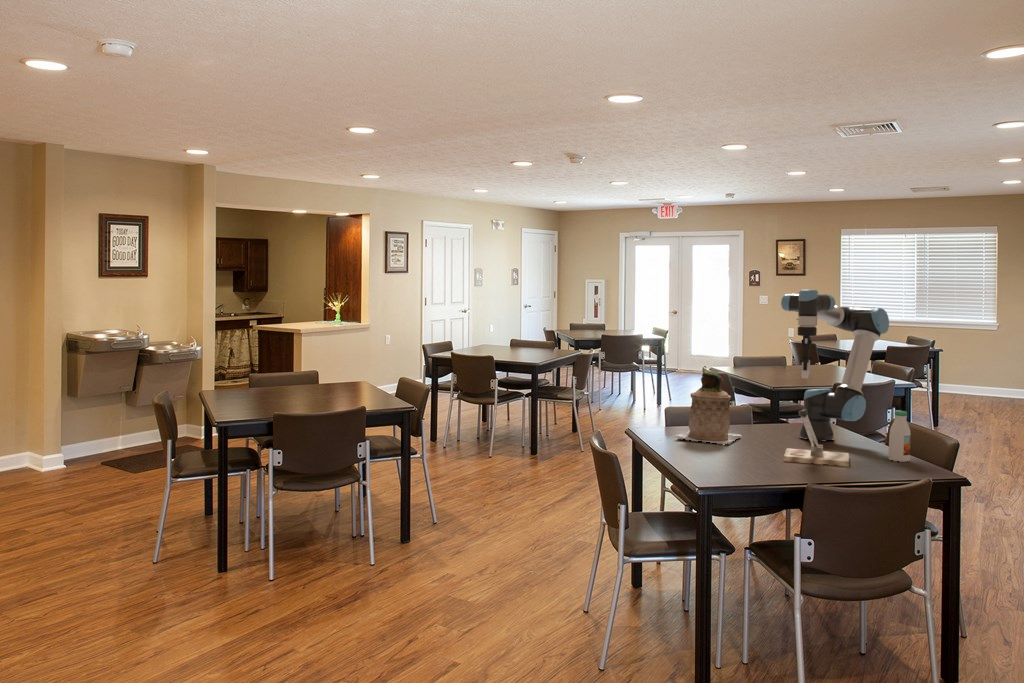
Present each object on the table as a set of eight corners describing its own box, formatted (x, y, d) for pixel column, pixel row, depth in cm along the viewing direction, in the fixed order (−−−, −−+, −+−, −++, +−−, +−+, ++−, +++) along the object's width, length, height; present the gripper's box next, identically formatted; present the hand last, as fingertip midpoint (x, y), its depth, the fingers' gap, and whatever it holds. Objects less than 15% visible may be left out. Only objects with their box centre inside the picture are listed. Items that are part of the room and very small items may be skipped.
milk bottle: (896, 462, 323) (898, 412, 321) (884, 458, 330) (886, 409, 329) (913, 462, 324) (916, 412, 323) (900, 458, 332) (903, 409, 331)
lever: (813, 454, 325) (797, 412, 327) (813, 453, 329) (798, 411, 330) (822, 452, 324) (806, 409, 326) (822, 450, 327) (806, 408, 329)
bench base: (783, 461, 323) (784, 447, 323) (786, 452, 340) (786, 439, 339) (849, 466, 314) (849, 452, 314) (848, 458, 331) (848, 444, 330)
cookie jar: (728, 446, 352) (730, 373, 350) (673, 440, 365) (675, 369, 363) (742, 438, 374) (745, 368, 372) (690, 432, 386) (692, 365, 384)
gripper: (799, 324, 354) (797, 373, 356) (796, 327, 331) (794, 378, 333) (817, 325, 352) (815, 374, 353) (815, 327, 328) (814, 379, 330)
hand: (805, 376), depth 343 cm, fingers open, 13 cm apart
